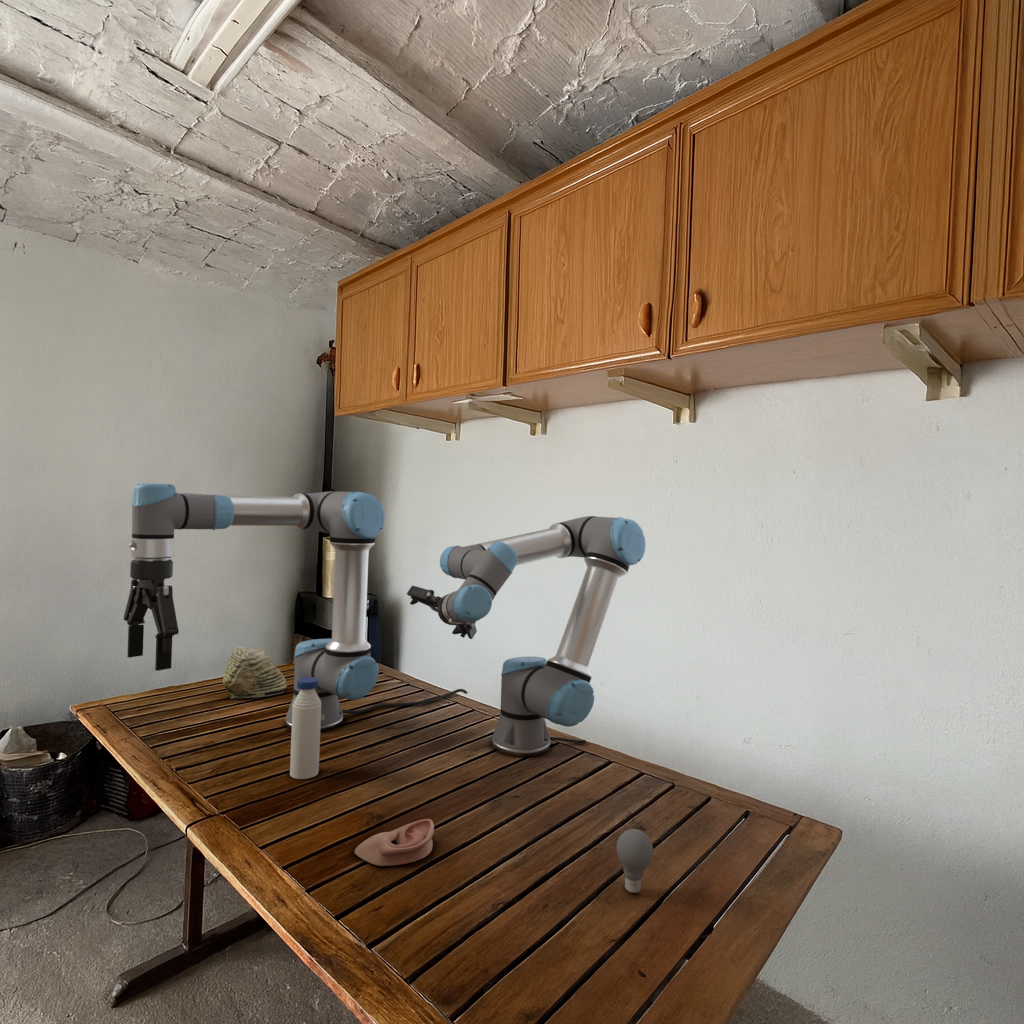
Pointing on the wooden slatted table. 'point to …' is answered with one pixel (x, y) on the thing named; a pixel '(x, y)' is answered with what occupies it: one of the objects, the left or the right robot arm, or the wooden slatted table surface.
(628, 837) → the light bulb
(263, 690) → the fossil
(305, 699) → the bottle
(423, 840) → the anatomical model
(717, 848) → the wooden slatted table surface
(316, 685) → the cap
